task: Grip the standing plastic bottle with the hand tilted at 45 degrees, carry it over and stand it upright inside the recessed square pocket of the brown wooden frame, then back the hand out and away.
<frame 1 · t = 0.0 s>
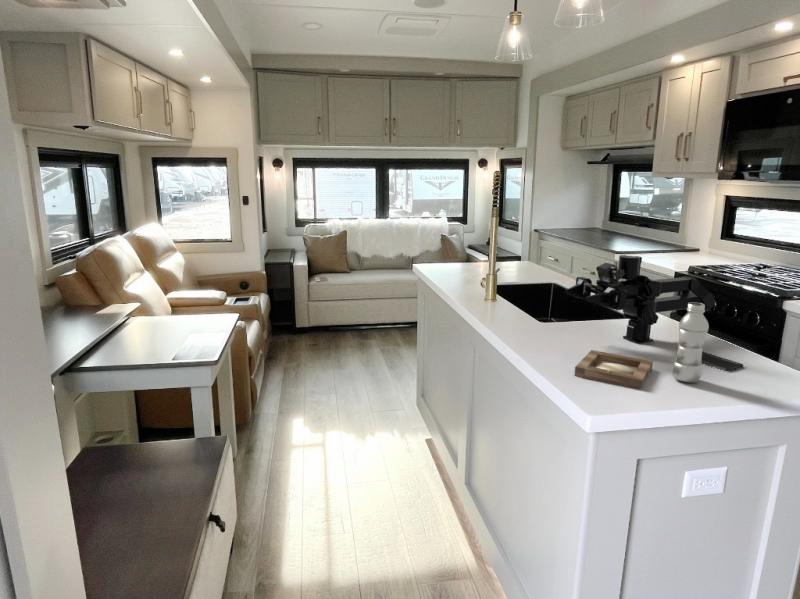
hand: (576, 295, 156), 17 cm above the countertop, tool horizontal, fingers open, 9 cm apart
plastic bottle: (685, 381, 137), on the countertop
brown wooden frame: (613, 372, 143), on the countertop
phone: (709, 363, 151), on the countertop
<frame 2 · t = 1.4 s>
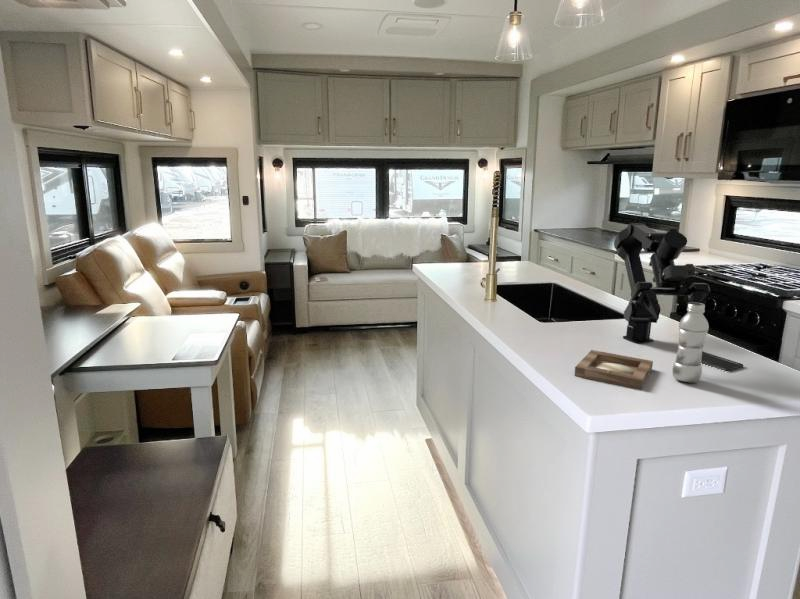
hand: (675, 319, 142), 14 cm above the countertop, tool tilted 45°, fingers open, 9 cm apart
nothing on the countertop moved.
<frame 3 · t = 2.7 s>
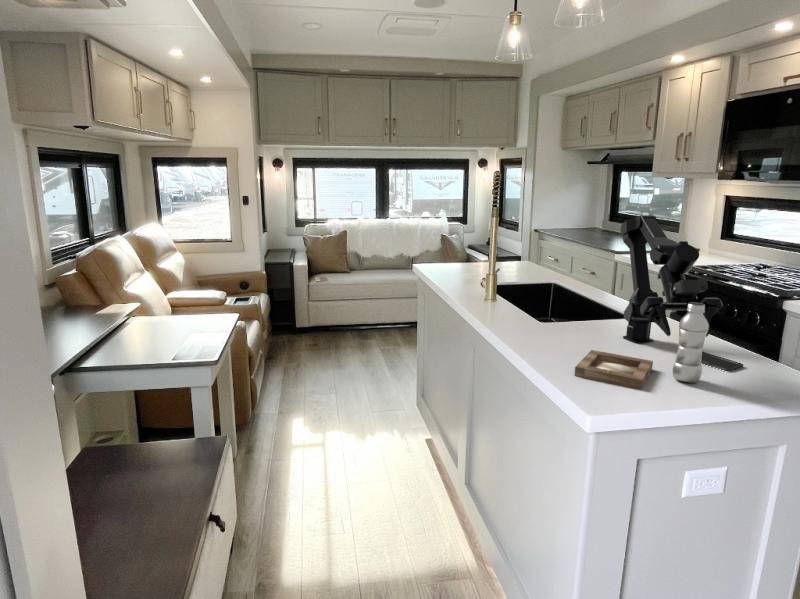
hand: (688, 335, 136), 11 cm above the countertop, tool tilted 45°, fingers open, 9 cm apart
nothing on the countertop moved.
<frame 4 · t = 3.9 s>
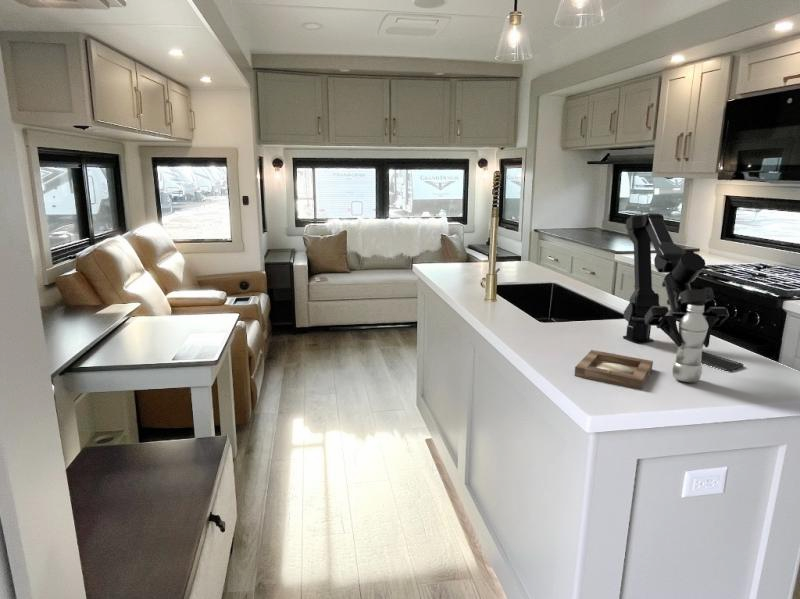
hand: (693, 346, 134), 10 cm above the countertop, tool tilted 45°, fingers closed on plastic bottle, 6 cm apart
plastic bottle: (685, 381, 137), on the countertop, touching gripper
everything else where it was.
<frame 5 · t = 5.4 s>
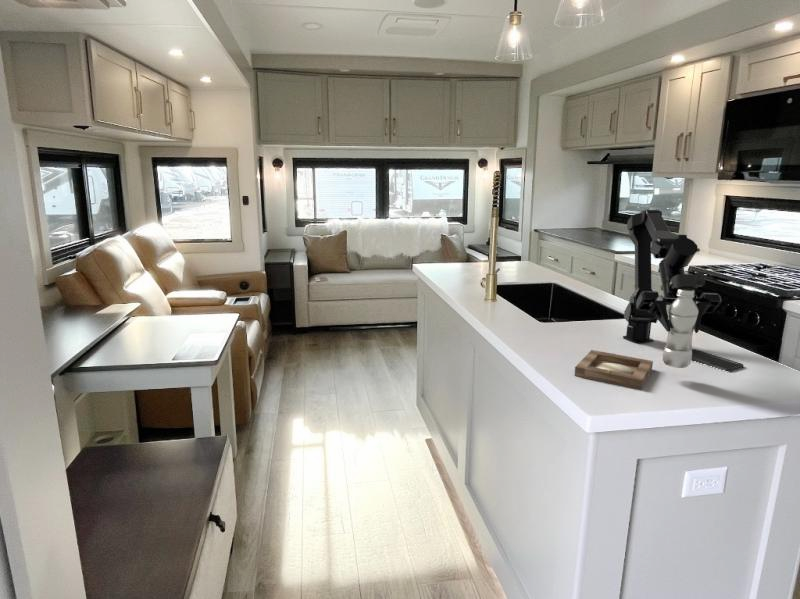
hand: (682, 331, 133), 13 cm above the countertop, tool tilted 45°, fingers closed on plastic bottle, 6 cm apart
plastic bottle: (675, 367, 137), point 3 cm above the countertop, touching gripper
everything else where it was.
when the fingers open (12 cm above the countertop, at t = 7.2 s): plastic bottle drops 1 cm, resting on brown wooden frame.
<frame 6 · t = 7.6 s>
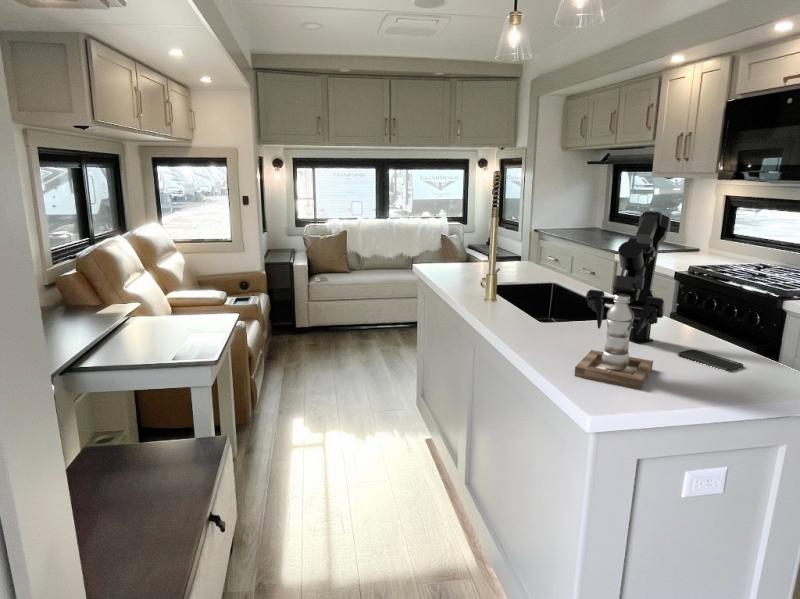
hand: (617, 330, 139), 12 cm above the countertop, tool tilted 45°, fingers open, 9 cm apart
plastic bottle: (614, 369, 143), point 1 cm above the countertop, touching brown wooden frame
everything else where it was.
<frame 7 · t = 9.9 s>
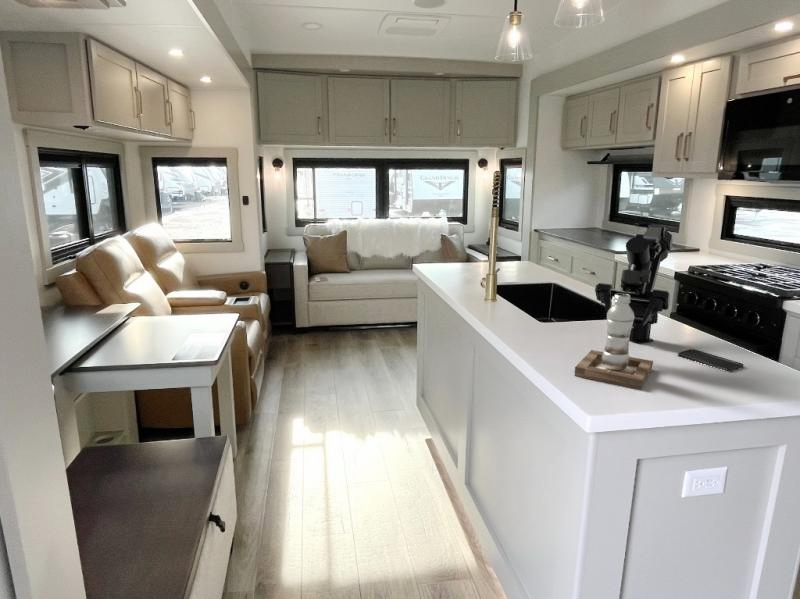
hand: (624, 321, 146), 12 cm above the countertop, tool tilted 45°, fingers open, 9 cm apart
nothing on the countertop moved.
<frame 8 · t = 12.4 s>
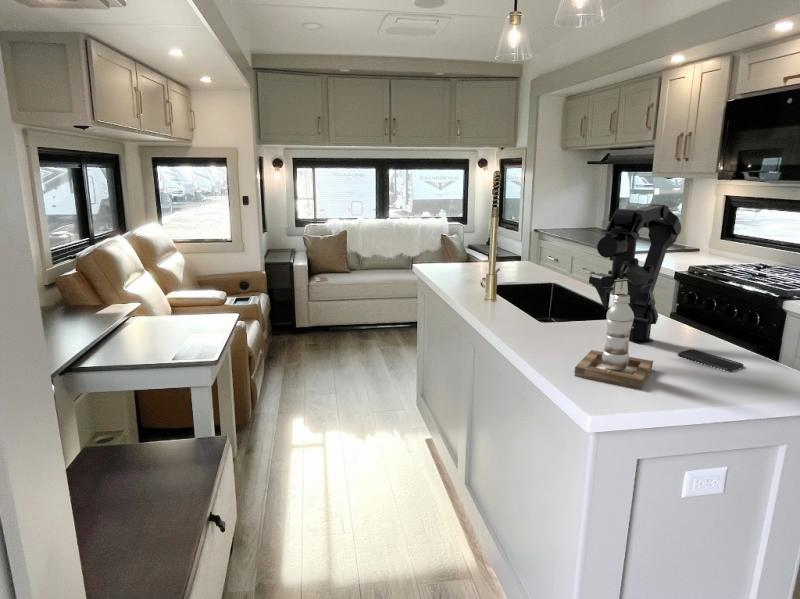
hand: (618, 307, 157), 13 cm above the countertop, tool pointing down, fingers open, 9 cm apart
nothing on the countertop moved.
at the end: plastic bottle 0.2 cm from the brown wooden frame (horizontally); plastic bottle tilted 0°; the gripper is holding nothing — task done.
